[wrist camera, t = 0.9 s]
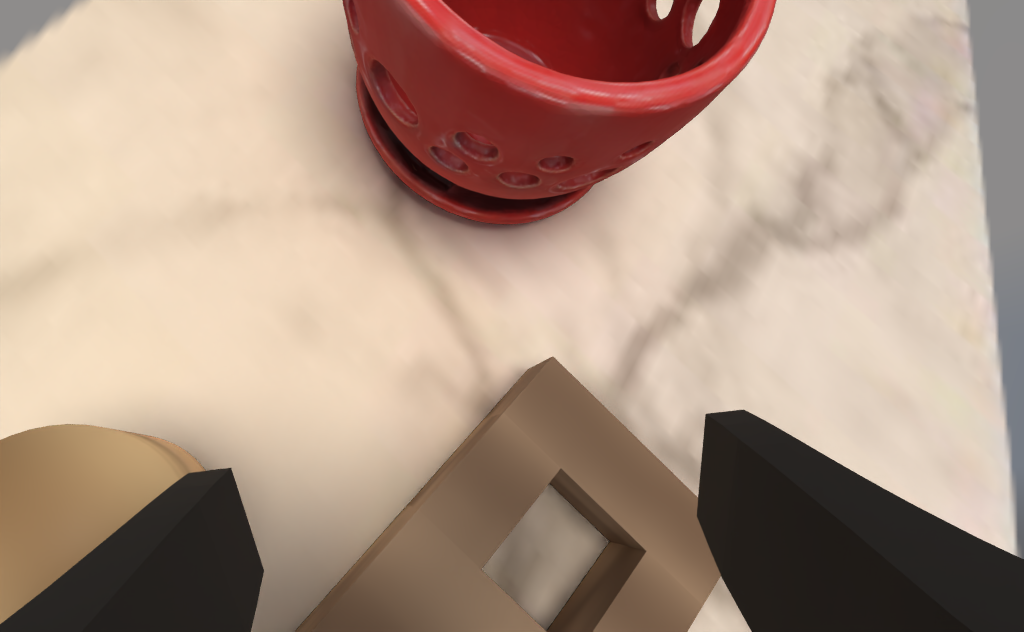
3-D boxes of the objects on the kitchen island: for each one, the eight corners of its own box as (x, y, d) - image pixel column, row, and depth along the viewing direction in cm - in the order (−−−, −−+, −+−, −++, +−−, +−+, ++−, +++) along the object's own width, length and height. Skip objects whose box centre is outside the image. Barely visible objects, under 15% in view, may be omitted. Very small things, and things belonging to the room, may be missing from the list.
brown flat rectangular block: (437, 936, 19) (455, 1017, 16) (210, 726, 18) (188, 772, 16) (695, 532, 25) (741, 540, 22) (528, 369, 24) (552, 356, 22)
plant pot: (292, 26, 25) (257, -323, 14) (550, -10, 30) (677, -294, 19) (398, 299, 24) (454, 147, 12) (655, 217, 28) (862, 51, 17)
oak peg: (142, 641, 18) (25, 746, 11) (21, 529, 18) (-173, 566, 11) (272, 511, 20) (239, 532, 13) (163, 408, 20) (73, 376, 13)
